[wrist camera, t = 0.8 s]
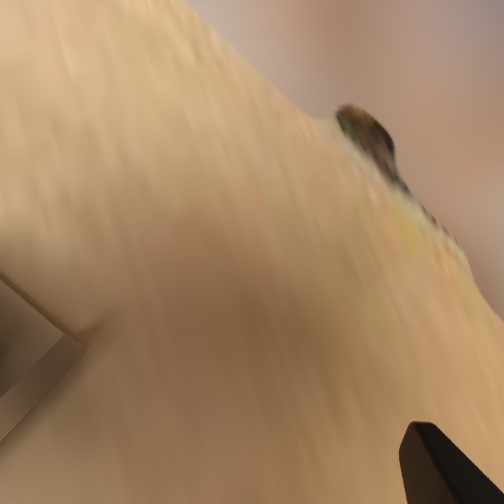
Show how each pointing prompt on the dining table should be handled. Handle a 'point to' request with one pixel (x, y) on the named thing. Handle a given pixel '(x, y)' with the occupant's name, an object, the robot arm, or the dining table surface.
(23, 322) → the arena
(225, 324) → the dining table surface
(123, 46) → the dining table surface
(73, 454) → the dining table surface
